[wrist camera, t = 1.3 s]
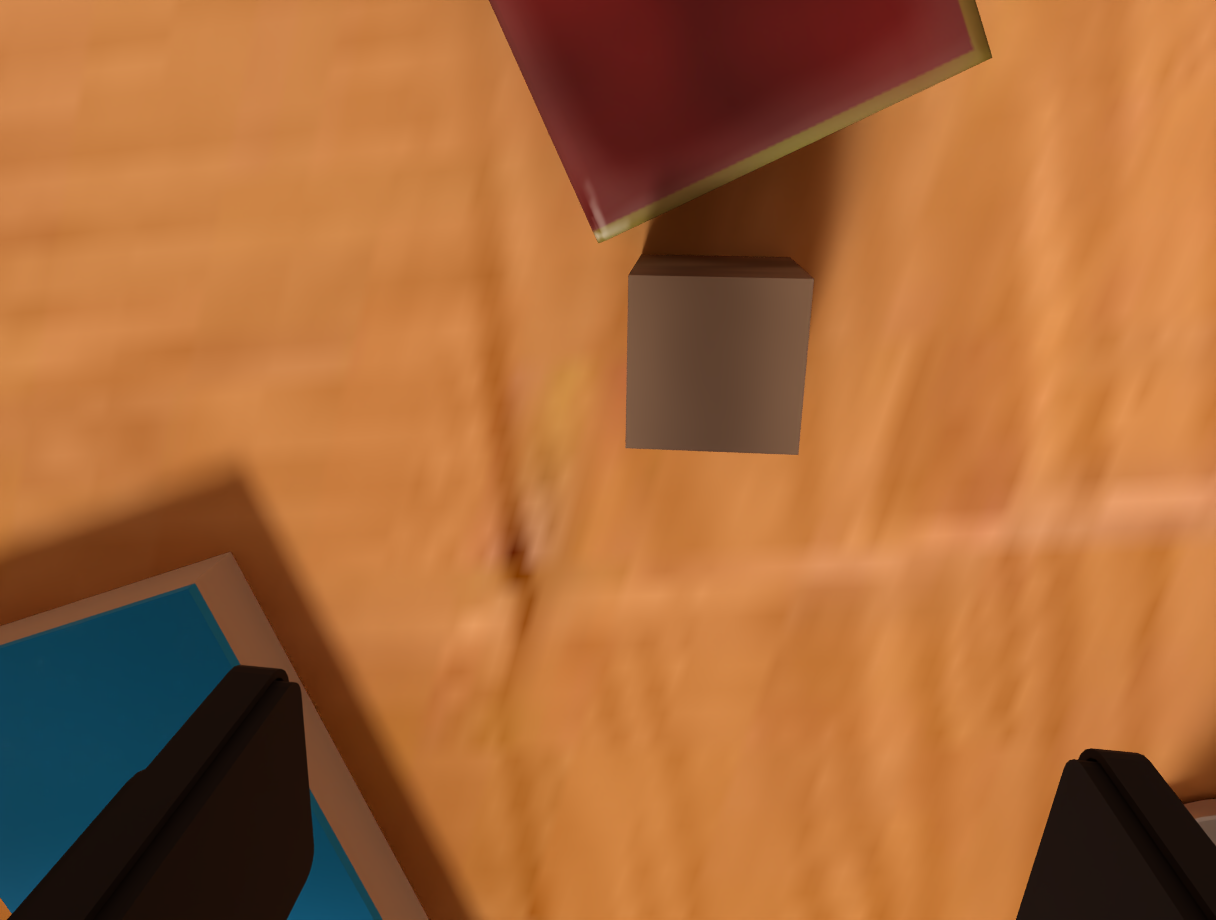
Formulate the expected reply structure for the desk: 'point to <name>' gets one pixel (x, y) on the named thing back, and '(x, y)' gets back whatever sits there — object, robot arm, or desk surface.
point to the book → (160, 730)
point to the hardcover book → (717, 84)
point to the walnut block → (717, 353)
